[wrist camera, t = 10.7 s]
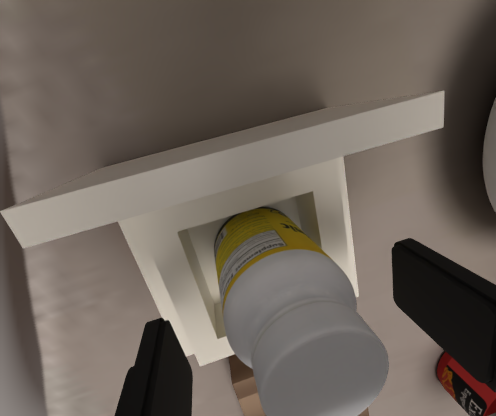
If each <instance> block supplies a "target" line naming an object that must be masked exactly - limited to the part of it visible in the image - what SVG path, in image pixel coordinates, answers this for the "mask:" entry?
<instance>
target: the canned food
mask: <svg viewBox="0 0 496 416" xmlns="http://www.w3.org/2000/svg"><path fill="white" fill-rule="evenodd" d="M437 376H438V378H439V380H440V382H441V384H442V385H443V387H444V389H445V390H446V391H447V392H448V393H449V394H450V395H451V396H452V397H453V398H454V399H455V400H456V401H457V403H458V404H459V405H460V406H461V407H462V408H463V409H464V410H465V411H466V412H467V413H468V414H469V415H470V416H489V415H491V414H494V413H496V393H495V392H493V391H492V390H491V389H490V388H489V387H488V386H487V385H486V384H485V383H480V382H478V381H477V380H476V379H475V378H473V377H472V376H471V375H470V374H469V373H468V372H467V371H466V370H465V369H464V368H463V367H462V366H461V365H460V364H459V363H458V362H456V361H455V360H454V359H453V358H452V357H451V356H450V355H449V354H448V353H447V352H446V351H445V353H444V354H443V355H442V357H441V359H440V361H439V364H438V368H437Z"/></svg>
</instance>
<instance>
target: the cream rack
mask: <svg viewBox="0 0 496 416" xmlns="http://www.w3.org/2000/svg"><path fill="white" fill-rule="evenodd" d="M444 92H445V90H444V91H438V92H431V93H424V94H417V95H410V96H404V97H397V98H390V99H383V100H376V101H369V102H363V103H356V104H349V105H342V106H335V107H328V108H324V109H321V110H317V111H313V112H309V113H306V114H302V115H298V116H294V117H291V118H287V119H283V120H279V121H276V122H272V123H268V124H264V125H261V126H257V127H253V128H249V129H246V130H242V131H238V132H234V133H231V134H227V135H223V136H219V137H216V138H212V139H208V140H204V141H200V142H197V143H193V144H189V145H185V146H182V147H178V148H174V149H170V150H167V151H163V152H159V153H155V154H152V155H148V156H144V157H140V158H137V159H133V160H129V161H125V162H122V163H118V164H114V165H110V166H107V167H103V168H100V169H98V170H96V171H93V172H91V173H89V174H86V175H84V176H82V177H79V178H77V179H75V180H72V181H70V182H68V183H65V184H63V185H61V186H58V187H56V188H54V189H51V190H49V191H47V192H44V193H42V194H40V195H37V196H35V197H33V198H30V199H28V200H26V201H23V202H21V203H19V204H16V205H14V206H12V207H9V208H7V209H5V210H2V211H0V212H1V214H2V216H3V217H4V219H5V220H6V222H7V223H8V225H9V227H10V228H11V230H12V231H13V233H14V235H15V236H16V238H17V239H18V241H19V242H20V244H21V246H22V247H23V249H24V248H27V247H31V246H34V245H38V244H41V243H45V242H48V241H52V240H55V239H58V238H62V237H65V236H69V235H72V234H76V233H79V232H83V231H86V230H90V229H93V228H97V227H100V226H104V225H107V224H111V223H114V222H117V221H118V223H119V225H120V227H121V230H122V232H123V234H124V236H125V238H126V240H127V243H128V245H129V247H130V249H131V251H132V253H133V256H134V258H135V260H136V262H137V264H138V266H139V269H140V271H141V273H142V275H143V277H144V279H145V282H146V284H147V286H148V288H149V290H150V292H151V294H152V297H153V299H154V301H155V303H156V305H157V307H158V310H159V312H160V314H161V316H162V318H163V319H164V320H165V321H166V320H169V321H170V323H171V325H172V328H173V330H174V332H175V334H176V336H177V338H178V340H179V343H180V345H181V347H182V349H183V351H184V353H185V356H189V355H192V354H195V356H196V358H197V361H198V363H199V365H200V366H203V365H206V364H208V363H211V362H214V361H217V360H220V359H222V358H225V357H228V356H231V355H234V354H235V353H234V352H233V350H232V348H231V347H230V345H229V342H228V339H227V336H226V333H225V327H224V322H223V314H222V307H221V299H220V293H219V285H218V278H217V271H216V264H215V257H214V241H215V237H216V234H217V231H218V229H219V228H220V226H221V224H222V223H223V222H224V221H225V220H226V218H227V217H229V216H232V215H235V214H238V213H242V212H245V211H248V210H252V209H255V208H258V207H262V206H270V207H273V208H275V209H278V210H280V211H281V212H282V213H284V214H285V215H286V216H287V217H289V218H290V219H291V220H292V221H293V222H294V223H295V224H296V225H297V226H298V227H299V228H300V229H301V230H302V231H303V232H304V233H305V234H307V236H308V237H310V238H311V239H312V240H313V242H315V243H316V244H317V245H318V246H319V247H320V248H321V249H322V250H323V251H324V252H325V253H326V254H327V255H328V256H329V257H330V258H331V259H332V260H333V261H334V262H335V263H336V264H337V265H338V266H339V267H340V268H341V269H342V270H343V271H344V273H345V274H346V275H347V277H348V278H349V280H350V282H351V284H352V286H353V289H354V292H355V296H356V297H358V296H359V294H358V285H357V275H356V266H355V257H354V248H353V239H352V230H351V221H350V212H349V203H348V194H347V185H346V175H345V166H344V157H343V156H346V155H350V154H353V153H357V152H360V151H364V150H367V149H371V148H374V147H378V146H381V145H385V144H388V143H391V142H395V141H398V140H402V139H405V138H409V137H412V136H416V135H419V134H423V133H426V132H430V131H433V130H437V129H440V128H443V127H444Z"/></svg>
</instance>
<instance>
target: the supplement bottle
mask: <svg viewBox="0 0 496 416" xmlns="http://www.w3.org/2000/svg"><path fill="white" fill-rule="evenodd" d="M214 257H215V264H216V271H217V278H218V285H219V293H220V299H221V307H222V314H223V322H224V327H225V333H226V336H227V339H228V342H229V345H230V347H231V348H232V350H233V352H234V353H235V355H236V356H237V357H238V358H239V359H240V360H241V361H242V362H243V363H244V364H246V365H247V366H249V367H250V368H252V369H253V374H254V378H255V382H256V386H257V390H258V394H259V399H260V403H261V406H262V409H263V411H264V413H265V414H266V416H358V415H359V414H360V413H362V412H363V411H364V410H365V409H366V408H367V407H368V406H369V405H370V404H371V403H372V402H373V401H374V400H375V398H376V397H377V396H378V394H379V393H380V391H381V390H382V388H383V386H384V383H385V381H386V378H387V374H388V367H389V362H388V355H387V351H386V349H385V347H384V345H383V343H382V342H381V340H380V339H379V338H378V337H377V336H376V334H375V333H374V332H373V331H372V330H371V328H370V327H369V326H368V325H367V324H366V323H365V321H364V320H363V319H362V317H361V316H360V315H359V314H358V313H357V312H356V296H355V292H354V289H353V286H352V284H351V282H350V280H349V278H348V277H347V275H346V274H345V273H344V271H343V270H342V269H341V268H340V267H339V266H338V265H337V264H336V263H335V262H334V261H333V260H332V259H331V258H330V257H329V256H328V255H327V254H326V253H325V252H324V251H323V250H322V249H321V248H320V247H319V246H318V245H317V244H316V243H315V242H313V240H312V239H311V238H310V237H308V236H307V234H305V233H304V232H303V231H302V230H301V229H300V228H299V227H298V226H297V225H296V224H295V223H294V222H293V221H292V220H291V219H290V218H289V217H287V216H286V215H285V214H284V213H282V212H281V211H280V210H278V209H275V208H273V207H270V206H262V207H258V208H255V209H252V210H248V211H245V212H242V213H238V214H235V215H232V216H229V217H227V218H226V220H225V221H224V222H223V223H222V224H221V226H220V228H219V229H218V231H217V234H216V237H215V241H214Z"/></svg>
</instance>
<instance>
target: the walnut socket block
mask: <svg viewBox="0 0 496 416" xmlns="http://www.w3.org/2000/svg"><path fill="white" fill-rule="evenodd" d="M229 362H230V370H231V377H232V385H233V387H234V390H235V392H236V395H237V398H238V400H239V403H240V405H241V408H242V411H243V413H244V416H266V414H265V413H264V411H263V409H262V406H261V403H260V399H259V394H258V390H257V386H256V382H255V378H254V374H253V369H252V368H250V367H249V366H247V365H246V364H244V363H243V362H242V361H241V360H240V359H239V358H238V357H237V356H236V355H235V354H234V355H231V356H229ZM358 416H369V412H368V407H367V408H366V409H365V410H364V411H363V412H362V413H360V414H359V415H358Z"/></svg>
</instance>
